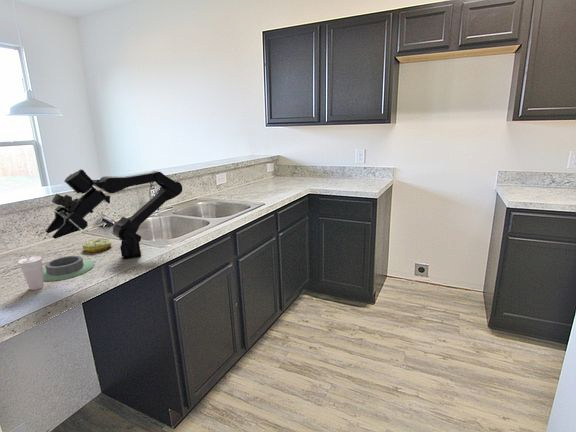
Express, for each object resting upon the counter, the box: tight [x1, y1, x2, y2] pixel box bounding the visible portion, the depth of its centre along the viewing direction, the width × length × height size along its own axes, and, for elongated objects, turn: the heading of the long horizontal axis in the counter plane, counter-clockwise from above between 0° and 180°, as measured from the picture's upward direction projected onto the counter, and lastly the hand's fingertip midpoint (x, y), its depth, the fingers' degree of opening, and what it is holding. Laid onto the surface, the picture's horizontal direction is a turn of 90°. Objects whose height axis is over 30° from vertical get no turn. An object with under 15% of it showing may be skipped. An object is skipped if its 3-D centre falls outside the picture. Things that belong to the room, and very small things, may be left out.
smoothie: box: [17, 246, 45, 291], centre depth 108 cm, size 6×6×14 cm
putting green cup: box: [43, 255, 95, 282], centre depth 122 cm, size 18×18×3 cm
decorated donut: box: [82, 237, 113, 253], centre depth 144 cm, size 10×11×4 cm
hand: (50, 235), depth 113 cm, fingers open, 9 cm apart
